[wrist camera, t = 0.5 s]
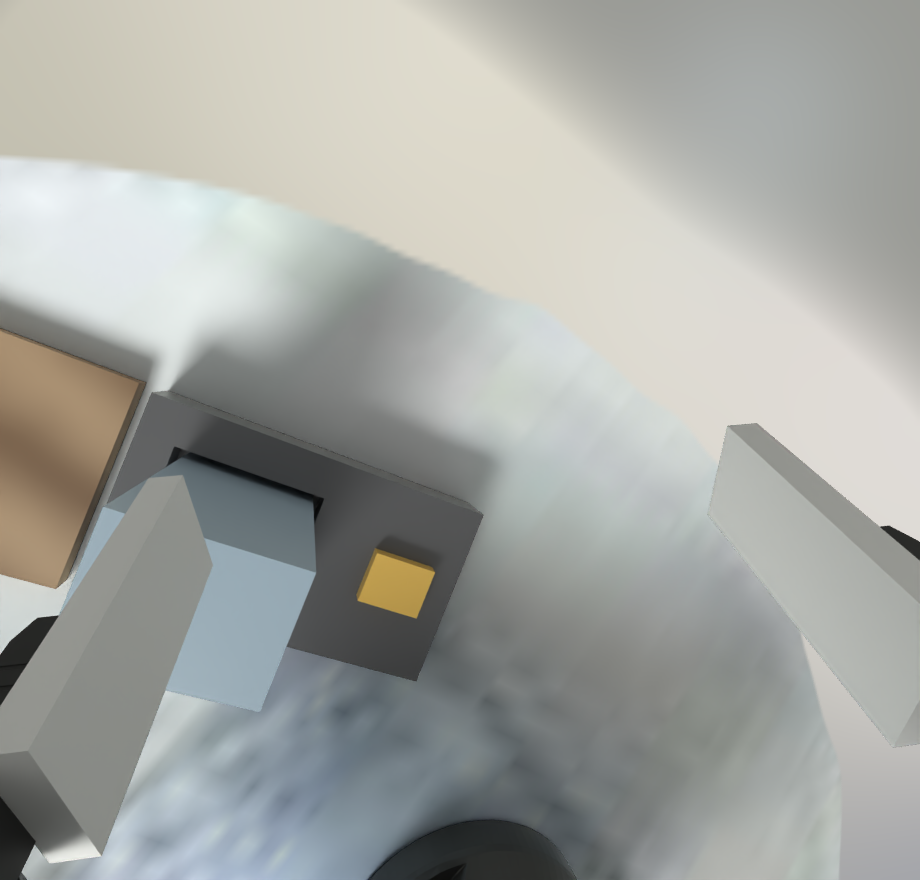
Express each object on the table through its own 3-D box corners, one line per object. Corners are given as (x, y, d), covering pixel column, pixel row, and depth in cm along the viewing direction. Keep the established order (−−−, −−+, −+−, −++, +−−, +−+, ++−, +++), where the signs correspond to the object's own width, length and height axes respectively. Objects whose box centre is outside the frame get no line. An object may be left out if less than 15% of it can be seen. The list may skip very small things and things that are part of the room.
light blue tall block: (278, 577, 29) (259, 712, 17) (154, 540, 27) (40, 660, 16) (312, 494, 29) (316, 572, 17) (190, 451, 27) (102, 506, 16)
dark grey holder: (406, 653, 32) (418, 689, 28) (97, 566, 27) (64, 595, 24) (467, 502, 32) (488, 518, 28) (168, 390, 27) (146, 392, 24)
